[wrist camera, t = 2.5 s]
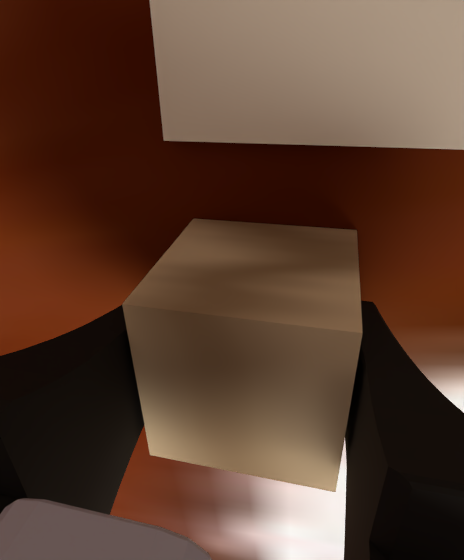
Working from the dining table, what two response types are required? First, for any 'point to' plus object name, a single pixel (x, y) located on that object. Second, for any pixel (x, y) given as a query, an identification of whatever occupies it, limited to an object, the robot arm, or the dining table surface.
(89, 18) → the dining table surface
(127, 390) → the robot arm
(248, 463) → the maple cube
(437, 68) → the build board
